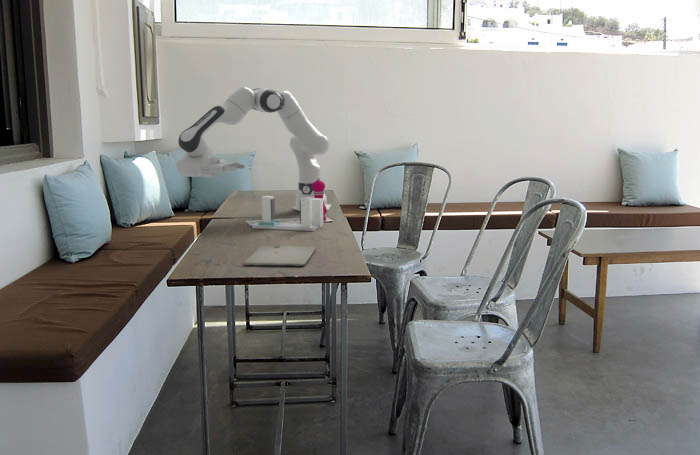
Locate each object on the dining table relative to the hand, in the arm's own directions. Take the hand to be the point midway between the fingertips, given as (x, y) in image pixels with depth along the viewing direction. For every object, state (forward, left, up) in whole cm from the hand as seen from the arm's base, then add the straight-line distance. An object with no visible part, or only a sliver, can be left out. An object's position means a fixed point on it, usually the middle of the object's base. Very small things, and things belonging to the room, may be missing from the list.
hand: (239, 167), depth 275 cm
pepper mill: (-19, +30, -26) cm, 44 cm away
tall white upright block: (+3, +14, -24) cm, 28 cm away
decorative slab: (+55, +41, -26) cm, 74 cm away
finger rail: (+3, +22, -26) cm, 34 cm away
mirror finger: (-5, +34, -26) cm, 43 cm away
